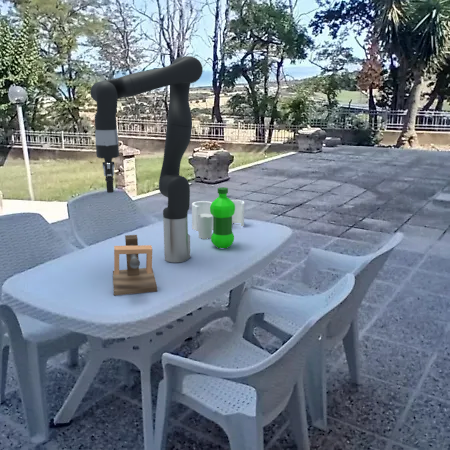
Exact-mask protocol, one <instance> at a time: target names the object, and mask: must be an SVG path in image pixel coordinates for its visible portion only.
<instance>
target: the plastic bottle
mask: <svg viewBox="0 0 450 450" xmlns="http://www.w3.org/2000/svg"><path fill="white" fill-rule="evenodd" d="M217 194H218V197H216V198H215V199H214V200H213V201H211V202H212V204H211V206H210V212H211V214H212V215H213V231H212V237H211V238H210V241H211V243H212V245H213V246H215V247H216V248H217V247H218V248H217V249H219V248H226V249H228V248H227V247H229V248H230V247H231V246H232V245H233V243H234V240H235V235H234V232H233V224H232V216H233V215H234V212H235V204H234V202H232V201H231V200H232V199H230V198H229V197H228V195H227V194H229V188H228V187H223V186H222V187H218V188H217Z"/></svg>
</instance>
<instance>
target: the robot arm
mask: <svg viewBox="0 0 450 450" xmlns="http://www.w3.org/2000/svg"><path fill="white" fill-rule="evenodd" d="M203 71H204V70H203V65H202V63H201V61H200V60H199V59H198V58H197V57H195V56H191V55H190V56H189V55H188V56H187V55H186V56H180V57H177V58H176V59H174V60H173V61H172V63H171V64H170V65H166V66H164V67H159V68H154V69H148V70H143V71H142V70H141V71H138V72H134V73H130V74H126V75H123V76H119V77H116V78H111V79H105V80H99V81H97V82H95V83H94V84H93V85H92V86H91V88H90V91H89V92H90V93H89V94H90V96H91V98H92V99H93V101H94V102H96V112H95V114H94V126H95V127H94V128H95V130H94V131H95V132H94V133H95V135H94V136H95V137H94V139H95V151H96V153H95V154H96V157H97V158H99V159H103V160H104V161H103V162H102V169H103V176H104V177H105V178H104V179H105V180H104V181H105V182H106V192H107V193H108V194H110V193H111V194H112V193H114V176H115V161H113V159H114V158H119V156H120V150H119V149H120V147H119V146H120V145H119V136H118V129H117V128H118V126H117V117H116V116H117V111H118V109H117V108H118V99H121V98H131V97H134V96H138V95H142V94H146V93H147V92H151V91H155V90H158V89H161V88H164V87H168V86H169V91H170V92H169V102H168V109H167V110H168V111H167V119H166V127H165V142H164V152H163V158H162V166H161V170H160V173H159V174H160V175H159V179H158V189H159V193H160V194H161V195H163V197H165V198H167V206H166V207H165V208H163V211H162V214H163V215H162V216H163V217H162V219H163V220H162V221H163V222H162V223H163V246H164V247H163V248H164V249H163V250H164V261H166V262H167V263H183V262H187V260H189V259H191V235H190V234H189V229H188V227H189V226H188V223H189V221H188V218H189V217H188V212H189V210H190V196H191V188H190V187H191V186H190V182H189V181H188V179H187V178H186V177H184V176H182V175H180V170H181V163H182V160H183V159H182V158H183V157H184V154H185V153H186V151H187V149H188V147H189V145H190V142H191V137H192V129H193V118H192V112H191V108H190V107H191V106H190V102H189V101H190V100H189V97H190V95H189V94H190V88H191V84H194V83H196V82H197V81H199V80H200V79H201V77H202V75H203Z"/></svg>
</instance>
